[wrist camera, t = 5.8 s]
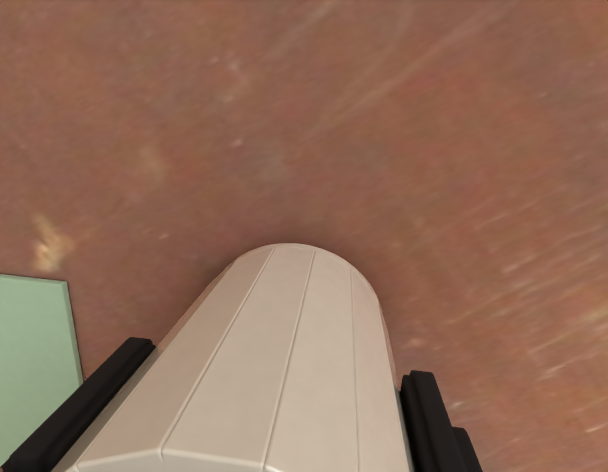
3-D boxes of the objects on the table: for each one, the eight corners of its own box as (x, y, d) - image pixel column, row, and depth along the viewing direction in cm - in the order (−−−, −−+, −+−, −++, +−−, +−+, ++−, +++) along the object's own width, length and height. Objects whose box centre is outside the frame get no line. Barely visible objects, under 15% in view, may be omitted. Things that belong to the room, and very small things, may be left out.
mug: (203, 234, 13) (-36, 421, 5) (396, 251, 12) (494, 499, 4) (211, 441, 16) (75, 764, 8) (364, 463, 15) (387, 838, 7)
